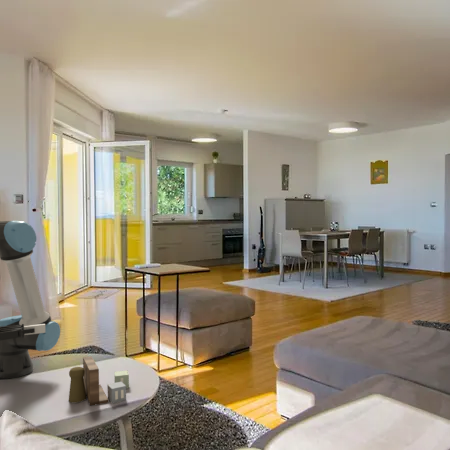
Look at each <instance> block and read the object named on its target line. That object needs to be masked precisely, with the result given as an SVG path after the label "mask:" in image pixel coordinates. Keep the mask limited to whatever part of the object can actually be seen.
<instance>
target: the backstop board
mask: <svg viewBox="0 0 450 450" xmlns="http://www.w3.org/2000/svg"><path fill="white" fill-rule="evenodd" d="M82 364H83V365H82V368H84V370H85V374H84V376H83V378H84V385H85V391H86V397H87V399H86V400H87V401H88V403H89V406H91V407H92V406H97V405H101V404H107V403H109V399H108V395H107V394H106V392H105V390H104V389H103V387H102V385H101V384H100V371H99V370H100V369H99V367H98V365H97V363H96V361H95V359H94V358H93V356H91V355H90V356H84V357H82Z"/></svg>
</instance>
